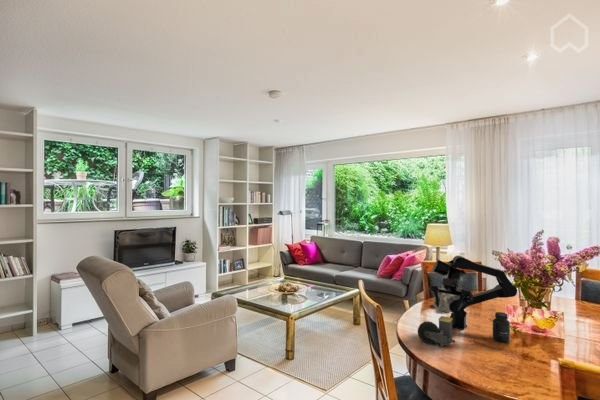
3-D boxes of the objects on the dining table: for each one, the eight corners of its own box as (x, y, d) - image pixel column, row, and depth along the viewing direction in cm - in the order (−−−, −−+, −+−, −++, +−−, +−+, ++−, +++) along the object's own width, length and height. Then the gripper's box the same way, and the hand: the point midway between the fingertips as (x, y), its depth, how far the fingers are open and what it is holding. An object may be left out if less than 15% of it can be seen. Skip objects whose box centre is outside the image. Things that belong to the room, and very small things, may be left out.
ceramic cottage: (440, 301, 218) (439, 277, 217) (465, 309, 204) (464, 283, 203) (424, 307, 210) (423, 282, 209) (448, 316, 196) (448, 289, 195)
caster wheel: (417, 345, 156) (454, 349, 148) (415, 323, 156) (451, 325, 149) (420, 340, 161) (456, 344, 153) (418, 319, 161) (453, 321, 153)
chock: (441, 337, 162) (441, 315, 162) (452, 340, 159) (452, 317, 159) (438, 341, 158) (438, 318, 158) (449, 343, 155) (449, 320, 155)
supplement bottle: (503, 344, 153) (503, 317, 153) (489, 339, 159) (488, 312, 159) (513, 341, 156) (513, 314, 156) (498, 336, 162) (498, 310, 162)
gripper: (430, 268, 175) (422, 297, 167) (470, 273, 163) (464, 304, 156) (435, 280, 182) (429, 308, 174) (475, 285, 170) (469, 315, 162)
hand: (447, 308), depth 166 cm, fingers open, 9 cm apart
